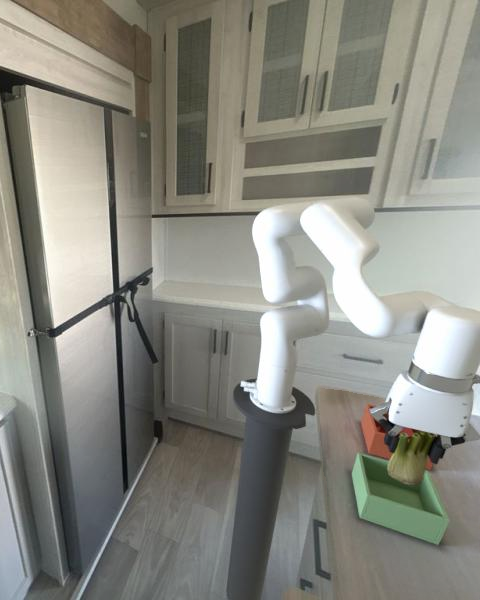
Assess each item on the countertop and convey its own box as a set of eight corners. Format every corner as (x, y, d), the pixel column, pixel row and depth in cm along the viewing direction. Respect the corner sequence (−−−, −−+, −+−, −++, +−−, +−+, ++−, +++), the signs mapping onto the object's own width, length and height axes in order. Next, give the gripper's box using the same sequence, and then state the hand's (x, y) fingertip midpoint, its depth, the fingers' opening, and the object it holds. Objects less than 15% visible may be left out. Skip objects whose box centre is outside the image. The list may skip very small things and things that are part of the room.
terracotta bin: (368, 453, 82) (374, 432, 79) (360, 423, 91) (366, 403, 88) (430, 470, 76) (439, 448, 74) (416, 436, 85) (424, 415, 83)
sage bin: (359, 517, 68) (367, 495, 66) (351, 473, 77) (357, 452, 75) (438, 545, 62) (450, 521, 60) (419, 494, 72) (429, 471, 69)
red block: (382, 446, 83) (387, 430, 81) (378, 432, 86) (383, 417, 85) (409, 453, 80) (415, 437, 78) (404, 438, 84) (409, 423, 82)
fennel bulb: (385, 481, 66) (401, 435, 62) (381, 462, 70) (395, 418, 66) (425, 493, 63) (445, 446, 59) (418, 473, 67) (436, 428, 63)
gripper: (501, 374, 56) (465, 453, 63) (371, 355, 65) (351, 426, 71) (525, 401, 50) (483, 485, 57) (379, 376, 59) (357, 452, 66)
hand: (410, 452), depth 64 cm, fingers closed on fennel bulb, 5 cm apart
